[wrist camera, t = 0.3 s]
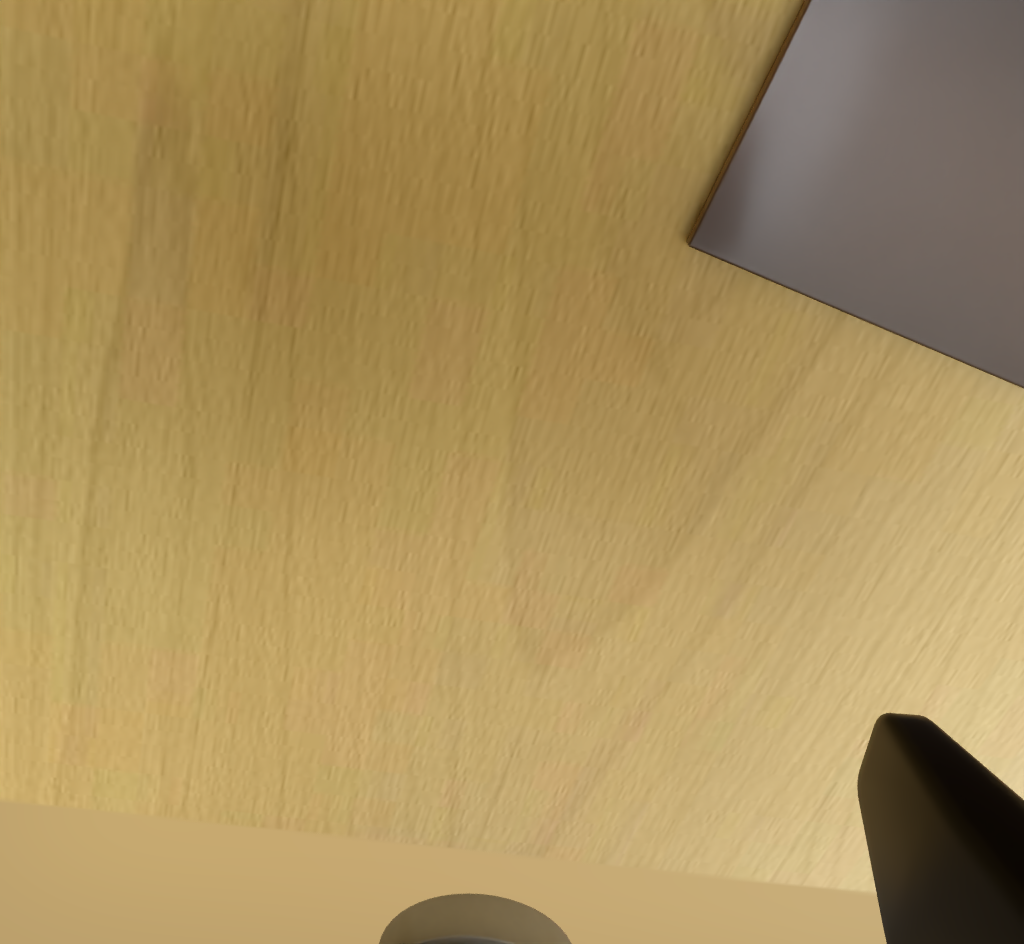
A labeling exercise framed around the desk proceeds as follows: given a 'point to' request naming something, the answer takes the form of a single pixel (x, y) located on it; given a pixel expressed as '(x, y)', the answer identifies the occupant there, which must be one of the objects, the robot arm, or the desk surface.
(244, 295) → the desk surface
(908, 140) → the stand
